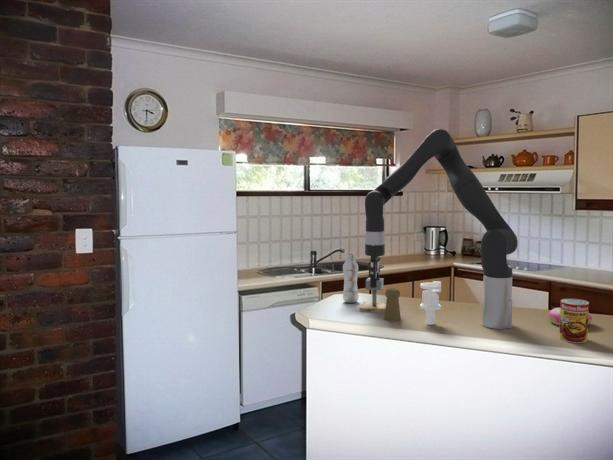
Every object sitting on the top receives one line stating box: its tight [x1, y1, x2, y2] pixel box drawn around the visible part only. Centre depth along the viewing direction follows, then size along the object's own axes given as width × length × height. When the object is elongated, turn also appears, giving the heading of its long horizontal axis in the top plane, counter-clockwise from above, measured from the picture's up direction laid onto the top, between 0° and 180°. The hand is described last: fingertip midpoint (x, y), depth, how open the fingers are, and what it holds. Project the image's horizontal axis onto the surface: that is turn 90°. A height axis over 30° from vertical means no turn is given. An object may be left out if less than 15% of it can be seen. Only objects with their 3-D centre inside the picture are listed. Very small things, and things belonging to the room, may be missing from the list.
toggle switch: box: [358, 290, 386, 314], centre depth 206 cm, size 10×10×8 cm
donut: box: [548, 307, 593, 327], centre depth 183 cm, size 14×13×5 cm
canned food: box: [558, 298, 590, 344], centre depth 165 cm, size 8×8×12 cm
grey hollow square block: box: [365, 277, 385, 291], centre depth 205 cm, size 6×6×4 cm
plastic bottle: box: [342, 253, 360, 304], centre depth 216 cm, size 6×7×20 cm
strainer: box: [419, 280, 442, 326], centre depth 184 cm, size 7×7×15 cm
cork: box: [383, 287, 402, 322], centre depth 191 cm, size 6×6×11 cm
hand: (374, 285), depth 206 cm, fingers closed on grey hollow square block, 6 cm apart
